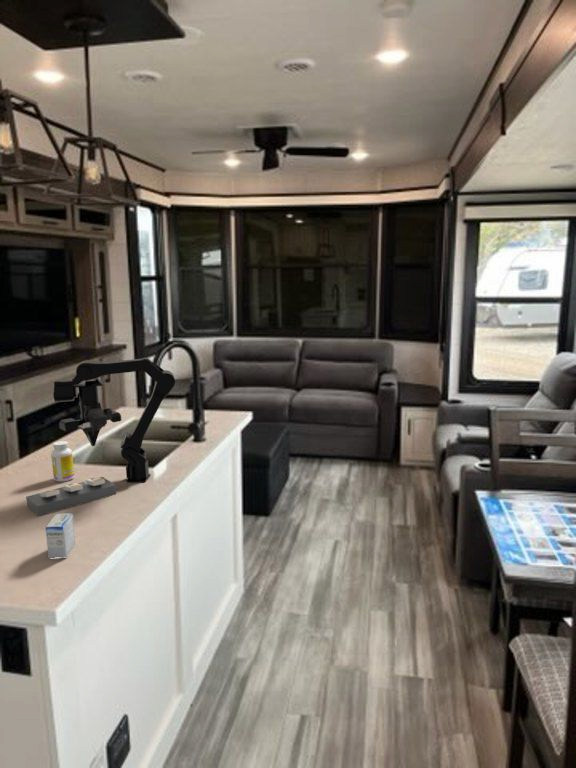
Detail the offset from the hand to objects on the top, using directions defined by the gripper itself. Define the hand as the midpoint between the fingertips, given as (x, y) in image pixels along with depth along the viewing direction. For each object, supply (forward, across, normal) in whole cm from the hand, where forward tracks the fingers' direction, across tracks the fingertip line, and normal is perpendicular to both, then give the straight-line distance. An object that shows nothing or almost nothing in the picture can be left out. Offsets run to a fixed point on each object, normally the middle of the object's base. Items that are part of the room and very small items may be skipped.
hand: (93, 445), depth 188 cm
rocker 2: (+8, -4, -10) cm, 14 cm away
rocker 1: (+8, -18, -10) cm, 23 cm away
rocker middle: (+8, -11, -10) cm, 17 cm away
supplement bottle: (+13, -6, +12) cm, 19 cm away
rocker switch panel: (+13, -11, -8) cm, 19 cm away
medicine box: (+13, -26, -40) cm, 50 cm away
